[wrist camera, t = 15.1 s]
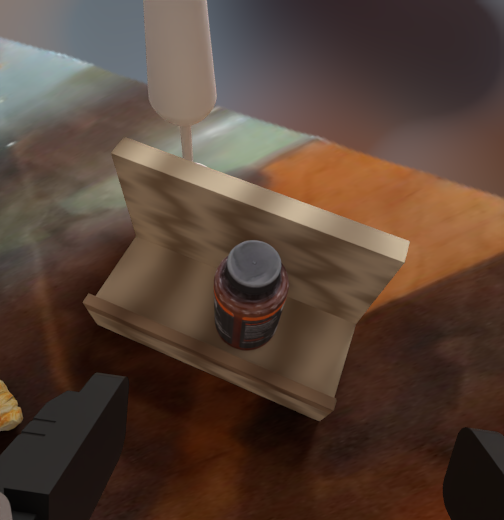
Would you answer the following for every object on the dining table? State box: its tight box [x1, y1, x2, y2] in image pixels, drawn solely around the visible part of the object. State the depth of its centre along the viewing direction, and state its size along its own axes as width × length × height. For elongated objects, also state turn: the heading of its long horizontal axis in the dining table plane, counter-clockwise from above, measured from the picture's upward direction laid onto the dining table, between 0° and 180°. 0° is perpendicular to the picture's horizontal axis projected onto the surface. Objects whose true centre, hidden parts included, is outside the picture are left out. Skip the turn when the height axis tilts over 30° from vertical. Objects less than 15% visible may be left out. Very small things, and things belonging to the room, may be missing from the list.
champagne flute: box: [143, 0, 217, 167], centre depth 42 cm, size 7×7×24 cm
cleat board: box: [82, 137, 410, 421], centre depth 37 cm, size 24×11×16 cm, turn 68°
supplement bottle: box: [214, 240, 289, 350], centre depth 35 cm, size 6×6×11 cm
